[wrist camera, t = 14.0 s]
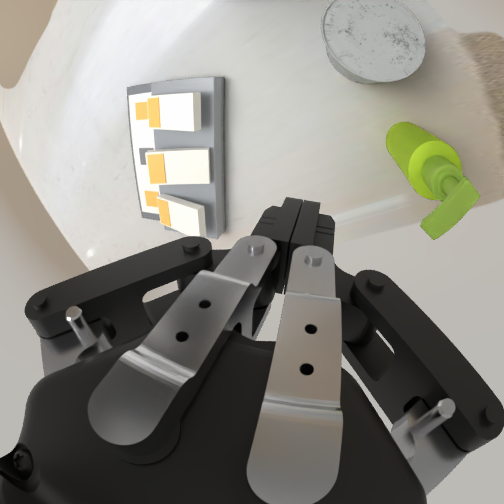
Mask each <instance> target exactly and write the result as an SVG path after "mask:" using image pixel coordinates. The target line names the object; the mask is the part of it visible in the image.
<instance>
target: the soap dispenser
mask: <svg viewBox="0 0 504 504" xmlns="http://www.w3.org/2000/svg"><path fill="white" fill-rule="evenodd" d="M386 146H387V149H388V151H389V153H390V155H391V156H392V157H393V159H394V160H395V161H396V163H397V164H398V166H399V167H400V169H401V170H402V171H403V173H404V174H405V176H406V177H407V179H408V180H409V182H410V183H411V185H412V186H413V188H414V189H415V191H416V192H417V193H418V194H420V195H421V196H423V197H424V198H427V199H431V200H440V201H442V203H441V204H440V205H439V206H438V207H437V208H436V209H435V210H434V211H433V212H432V213H431V214H429V215H428V216H427V217H426V218H424V219H423V220H422V222H421V225H420V226H421V228H422V229H423V230H424V231H425V232H426V233H427V234H428V235H429V236H430V237H431V238H432V239H433V240H435V239H437V238H438V237H440V236H441V235H443V234H444V233H445V232H447V231H448V230H449V229H451V228H452V227H453V226H454V225H455V224H456V223H457V222H458V221H459V220H460V219H461V218H462V217H463V216H464V215H465V214H466V213H467V212H468V211H469V209H470V208H471V207H472V206H473V205H474V203H475V202H476V201H477V200H478V198H479V197H480V195H479V193H478V192H477V190H476V189H475V188H474V186H473V185H472V184H471V182H470V181H469V180H468V179H467V178H466V177H465V176H464V175H463V173H462V166H461V161H460V158H459V156H458V154H457V153H456V151H455V150H454V149H453V148H452V147H451V146H450V145H448V144H447V143H445V142H443V141H442V140H440V139H439V138H437V137H435V136H434V135H432V134H430V133H428V132H427V131H425V130H423V129H421V128H419V127H418V126H416V125H414V124H412V123H409V122H400V123H397V124H395V125H394V126H392V127H391V128H390V130H389V131H388V134H387V137H386Z"/></svg>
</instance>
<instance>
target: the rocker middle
mask: <svg viewBox="0 0 504 504" xmlns="http://www.w3.org/2000/svg"><path fill="white" fill-rule="evenodd" d="M145 156H146V165H147V173H148V181H149V185H173V184H210V181H211V176H210V147H197V148H175V149H159V150H148V151H147V152H146V153H145Z"/></svg>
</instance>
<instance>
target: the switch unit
mask: <svg viewBox="0 0 504 504" xmlns="http://www.w3.org/2000/svg"><path fill="white" fill-rule="evenodd" d="M194 92H201V130H198V131H194V132H193V131H179V130H161V129H149V123H148V107H147V96H153V95H163V94H176V93H194ZM127 100H128V115H129V127H130V137H131V147H132V155H133V163H134V170H135V177H136V184H137V191H138V197H139V203H140V208H141V214H142V218H147V219H153V220H159V221H160V216H159V209H158V202H157V196H158V195H161V194H163V193H164V194H167V195H170V196H174V197H177V198H180V199H183V200H186V201H189V202H193V203H196V204H199V205H202V206H204V211H205V225H206V237H208V238H214V239H218V238H219V236H220V235H221V234H222V232H223V231H224V230H225V195H224V77H205V78H191V79H180V80H170V81H162V82H155V83H150V84H144V85H138V86H132V87H127ZM197 147H210V176H211V181H210V184H173V185H149V181H148V173H147V165H146V156H145V153H146V152H147V151H148V150H159V149H175V148H197ZM165 230H170V231H176V232H179V231H177V230H175V229H172V228H170V227H167V226H165ZM181 233H182V232H181Z"/></svg>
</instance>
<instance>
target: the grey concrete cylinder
mask: <svg viewBox="0 0 504 504" xmlns="http://www.w3.org/2000/svg"><path fill="white" fill-rule="evenodd" d="M321 30H322V36H323V40H324V42H325V44H326V50H327V55H328V57H329V60H330V62H331V63H332V65H333V66H334V68H335V69H336V70H337V71H338V72H339V73H340V74H342V75H343V76H344V77H346V78H347V79H350V80H352V81H354V82H358V83H362V84H375V83H380V82H392V81H399V80H401V79H404V78H406V77H409V76H410V75H411V74H412V73H414V72H415V71H416V70H417V69H418V68H419V66H420V65H421V64H422V61H423V59H424V56H425V50H426V41H425V36H424V32H423V30H422V27H421V25H420V23H419V22H418V20H417V19H416V17H415V16H414V14H413V13H412V12H411V11H410V10H409V9H408V8H407V7H406V6H405V5H403V4H402V3H401V2H399V1H398V0H332V1H331V2H330V3H329V5H328V6H327V7H326V9H325V11H324V14H323V16H322V22H321Z"/></svg>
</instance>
